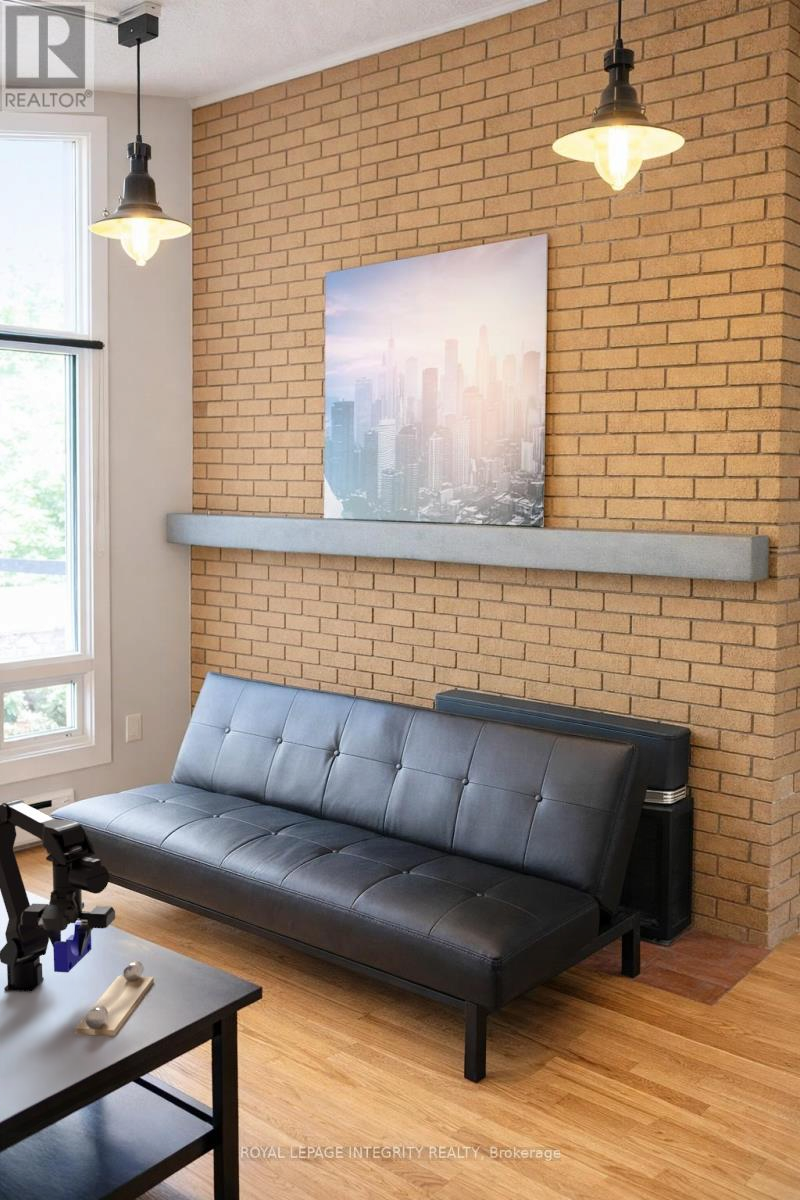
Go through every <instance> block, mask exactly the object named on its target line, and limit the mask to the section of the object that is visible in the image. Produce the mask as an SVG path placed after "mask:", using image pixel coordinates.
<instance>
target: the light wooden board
mask: <svg viewBox="0 0 800 1200" xmlns="http://www.w3.org/2000/svg"><path fill="white" fill-rule="evenodd" d="M154 981H155V979H154V976H145V975H143V976H140V977H139V978H138V979H137V980H136V981H135V982H129V981H127V980H126V979H125V978H124V975H118V976H117V977H116V978H115V979H114V981H113V982H112V983H111V984H110V985H109V987H108V988H107V989H106V990H105V991H104V993H102V995H101V997H100V998H99V999H98V1000H97V1002H95V1004H94V1005H93V1006H92V1007H91V1009H90V1010H89V1011H88V1012H87V1013H86V1015H85V1016H84V1017H83V1018H82V1019H81V1021H80V1022H79V1023H78V1025H77V1026H76V1027H75V1028H74V1029H75V1035H87V1036H88V1035H89V1036H90V1035H91V1036H105V1037H107V1036H108V1037H109V1036H110V1037H113V1036H115V1035H116V1034H117V1032H118V1031H119V1030H120V1028H121V1027H122V1026H123V1024H124V1023H125V1022H126V1020H127V1019H128V1018H129V1016H130V1015H131V1013H132V1012H133V1011H134V1009H135V1008H136V1006H137V1005H138V1004H139V1003H140V1001H141V1000H142V998H143V997H144V996H145V994H146V993H147V992H148V991H149V989H150V988H151V986H152V985H153V983H154ZM97 1005H101V1006H104V1007H105V1008H106V1009H107V1011H108V1018H107V1020H106V1021H105V1022H104V1023H103V1025H102V1026H101V1027H100V1028H98V1029H91V1028H90V1027H88V1025H87V1024H86V1016H87V1015H88V1014H89V1012H90V1011H91V1010H92V1009H93V1008H94V1007H95V1006H97Z"/></svg>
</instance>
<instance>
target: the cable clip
mask: <svg viewBox="0 0 800 1200" xmlns="http://www.w3.org/2000/svg"><path fill="white" fill-rule="evenodd" d="M80 925H81V921H76V923H74V932H73V934H71V935H69V936H68V937H67V938H66V939H65V940H64V941H63V940H61V941H56V942H55V943H54V944H53V945H52V948H53V950H52V951H53V971H54V973H66V974H67V973H69V972H70V971H71V970H72V969H73V968H74V967H75V966H77V964H79V962H81V961H82V960H83V959H84V958H85V956H86V955H88V954H89V952H90V951H91V950H92V931H91V932H90V935H89V937H88V940H87V943H86V946H85V948H84V951H83V954H82V955H81V956H79V953H78V940H79V933H78V931H77V928H78V927H79V926H80Z"/></svg>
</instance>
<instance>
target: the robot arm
mask: <svg viewBox="0 0 800 1200" xmlns="http://www.w3.org/2000/svg"><path fill="white" fill-rule="evenodd" d="M16 827H18V828H20V829H21V830H24V831H26V832H27V833H28V834H31V835H33V836H34V837H36V838H38V839H40V840H41V844H42V847H43V849H45V850H47V852H49V853H50V854H48V855H47V856H46V857H45V860H46V861H48V862H52V863H51V864H52V865H51V866H52V886H53V887H52V891H51V892H50V900H49V902H48V903H32V904H30V901H29V898H28V894H27V891H26V888H25V884H24V881H23V877H22V874H21V872H20V867H19V865H18V861H17V858H16V854H15V851H14V850H15V849H14V846H15V842H16V838H17V829H16ZM76 850H78V851H76ZM95 855H96V852H95V850H94V845H93V843H92V842H91V841H90V839H89V837H88V835H87V833H86V831H85V829H84V827H83V826H82V825H81V824H80V823H79V822H77V821H73V820H69V819H55V818H53V817H51V816H49V815H47V814H45V813H43V812H41V811H39V810H38V809H37V808H34V807H32V806H30V805H29V804H27V803H26V802H25V800H22V799H19V798H18V799H14V800H13V799H12V800H10V801H6V802H3V803H1V804H0V893H1V897H2V900H3V903H4V906H5V911H6V912H7V917H8V922H7V926H6V930H5V939H6V943H5V945H4V946H3V947H2V948H1V949H0V963H2V964H4V965H6V973H7V974H6V976H7V985H6V986H4V988H3V989H4V991H7V992H8V991H9V992H10V991H11V992H12V991H13V992H27V993H28V992H29V993H31V992H33V991H34V990H35V989H37V988H38V986H39V985H40V984H41V983H42V982H43V981H44V976H43V963H42V962H41V959H40V958H41V956H45V955H46V954H47V950H48V946H49V945H48V944H49V941H50V942H51V945H52V946H53V944H54V943H55V942H56V941H62V931H64V930H66V929H67V928H68V926H69V925H70V924H76V923H77V922H78V921H79V922H81V925H80V926H79V927H78V928H77V931H78V933H79V940H78V953H79V956H81V955H82V954H83V951H84V948H85V946H86V943H87V940H88V937H89V935H90V932H91V933H92V931H93V929H106V928H108V927H109V926H110V925H111V924H112V923H113V922H114V921H115V919H116V910H115V909H114V907H113V906H109V905H107V906H105V905H96V906H95V907H94V908H93V909H92V910H89V911H88V910H87V911H86V910H83V909H84V908H85V902H83V898H82V897H83V895H82V891H85V892H89V893H92V894H100V893H101V892H103V891H104V890H105V889H106V888H107V886H108V884H109V882H110V873H109V870H108V869H107V867H105V866H104V865H102V861H101V859H99V858H92V857H93V856H95Z"/></svg>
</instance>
